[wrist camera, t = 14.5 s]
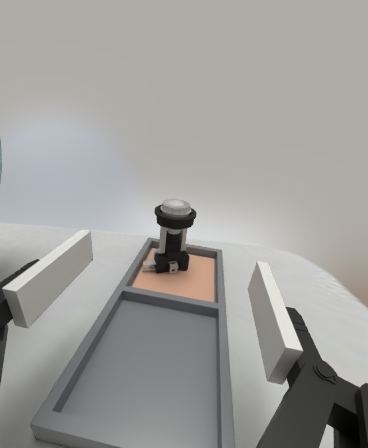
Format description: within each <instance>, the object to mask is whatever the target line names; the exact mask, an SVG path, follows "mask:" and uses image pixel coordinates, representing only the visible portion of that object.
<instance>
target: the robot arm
mask: <svg viewBox="0 0 368 448" xmlns="http://www.w3.org/2000/svg"><path fill="white" fill-rule="evenodd" d="M1 172H2V161H1V141H0V182H1ZM92 260H93V253H92V242H91V232H90V231H86V230H80V231H79V232H78V233H76V234H75V235H73V236H72V237H71V238H69V239H68V240H67V241H65V242H64V243H63V244H61V245H60V246H59V247H57V248H56V249H55V250H53V251H52V252H50V253H49V254H48V255H46V256H45V257H44V258H42V259H41V260H38V259H37V260H35V261H32V262H30V263H28V264H26V265H25V266H23V267H22V268H21V269H20V270H18V271H16V272H15V273H14V274H12V275H11V276H9V277H8V278H7V279H5V280H4V281H2V282H1V283H0V383H1V375H2V368H3V361H4V354H5V347H6V340H7V333H8V325H7V323H8V322H9V321H10V320H11V319H13V321H14V323H15V326H19V327H24V328H29V327H30V326H31V325H32V324H33V323H34V322H35V321H36V320H37V318H38V317H39V316H40V315H41V314H42V313H43V312H44V311H45V310H46V309H47V308H48V307H49V306H50V305H51V304H52V303H53V302H54V300H55V299H56V298H57V297H58V296H59V295H60V294H61V293H62V292H63V291H64V290H65V289H66V288H67V287H68V286H69V285H70V284H71V283H72V281H73V280H74V279H75V278H76V277H77V276H78V275H79V274H80V273H81V272H82V271H83V270H84V269H85V268H86V267H87V266H88V265H89V263H90V262H91V261H92ZM248 292H249V297H250V302H251V307H252V311H253V316H254V321H255V326H256V330H257V335H258V340H259V345H260V349H261V354H262V359H263V364H264V368H265V373H266V378H267V381H268V382H273V383H277V384H282V385H283V383H284V382H285V380H286V378H287V381H288V384H289V389H288V390H287V392H286V393H285V395H284V397H283V399H282V401H281V403H280V405H279V407H278V409H277V410H276V412H275V414H274V416H273V418H272V419H271V421H270V423H269V425H268V427H267V428H266V430H265V432H264V434H263V436H262V438H261V439H260V441H259V443H258V445H257V447H256V448H319V446H320V443H321V440H322V437H323V434H324V431H325V428H326V425H327V424H328V425H330V426H331V427H333V428H334V448H368V383H365V384H363V385H362V386H361V387H358V386H356V385H354V384H352V383H350V382H348V381H346V380H344V379H342V378H340V377H338V375H337V374H336V372H335V371H334V369H333V368H332V367H331V366H330V365H329V364H327V363H326V362H325V361H323V360H322V359H321V357H320V355H319V352H318V350H317V348H316V346H315V344H314V342H313V340H312V338H311V335H310V333H308V329H307V327H306V326H305V323H304V321H303V318H302V316H301V315H300V314H299V313H298V312H297V311H296V309H295V308H290V307H285V305H284V302H283V300H282V297H281V295H280V292H279V290H278V287H277V285H276V282H275V280H274V277H273V275H272V272H271V270H270V268H269V265H268V263H266V262H260V261H257V263H256V266H255V269H254V272H253V275H252V278H251V281H250V284H249V287H248Z"/></svg>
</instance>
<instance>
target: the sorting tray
mask: <svg viewBox="0 0 368 448" xmlns="http://www.w3.org/2000/svg"><path fill="white" fill-rule="evenodd" d="M159 244H160V240H159V239H153V238H148V239H147V241H146V243H145V244H144V246H143V247H142V249H141V250H140V252H139V254H138V255H137V257H136V258H135V260H134V261H133V263H132V265H131V266H130V268H129V269H128V271H127V272H126V274H125V276H124V277H123V279H122V280H121V282H120V283H119V285H118V287H117V288H116V290H115V291H114V293H113V294H112V296H111V298H110V299H109V301H108V302H107V304H106V305H105V307H104V309H103V310H102V312H101V313H100V315H99V316H98V318H97V320H96V321H95V323H94V324H93V326H92V327H91V329H90V331H89V332H88V334H87V335H86V337H85V338H84V340H83V342H82V343H81V345H80V346H79V348H78V349H77V351H76V353H75V354H74V356H73V357H72V359H71V360H70V362H69V364H68V365H67V367H66V368H65V370H64V371H63V373H62V374H61V376H60V378H59V379H58V381H57V382H56V384H55V385H54V387H53V389H52V390H51V392H50V393H49V395H48V396H47V398H46V400H45V401H44V403H43V404H42V406H41V407H40V409H39V411H38V412H37V414H36V415H35V417H34V418H33V420H32V422H31V423H30V426H31V428H32V430H33V432H34V435H35V437H36V439H39V440H43V441H47V442H50V443H54V444H58V445H62V446H66V447H70V448H235V439H234V424H233V409H232V394H231V379H230V364H229V348H228V333H227V318H226V303H225V288H224V273H223V258H222V250H218V249H212V248H207V247H201V246H195V245H189V244H185V247H186V250H185V251H186V252H187V253H188V255H189V256H190V258H189V265H188V269H187V270H186V271H182V270H177V272H176V273H172V274H170V273H169V272H164V273H156V271H155V270H147V271H143V267H146V266H150V265H143V262H144V261H150V260H154V252H155V251H157V248H159ZM146 264H148V263H147V262H146ZM151 265H152V264H151ZM145 269H148V268H145Z"/></svg>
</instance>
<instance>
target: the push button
mask: <svg viewBox="0 0 368 448" xmlns="http://www.w3.org/2000/svg"><path fill="white" fill-rule="evenodd" d="M155 215H156V216H157V223H158V224H159V225H160V226H161V230H160V244H159V248H157V251H155V252H154V260H150V261H144V262H143V265H150V266H146V267H143V271H147V270H155V271H156V273H164V272H169V273H170V274H172V273H176V272H177V270H182V271H186V270H187V269H188V265H189V258H190V256H189V255H188V253H187V252H186V251H185V250H186V247H185V241H186V233H187V228H189V227H191V226H192V225H193V222H194V219H195V218H196V212H195V210H194V209H192V208H190V204H189V203H188V202H186V201H183V200H178V199H168V200H164V201H163V203H162V205H160V206H158V207H156V208H155ZM167 229H168V230H167ZM146 262H147V263H148V264H146ZM151 264H152V265H151ZM145 268H148V269H145Z"/></svg>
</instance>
